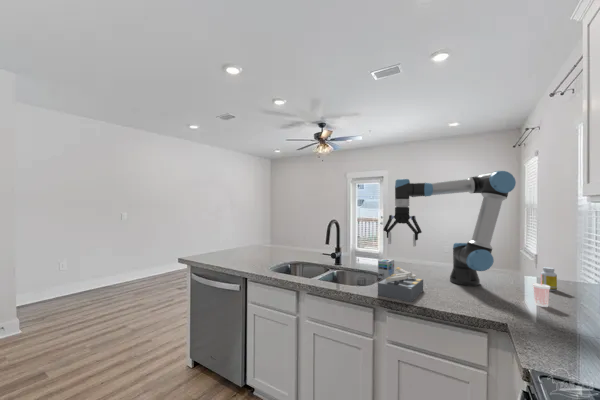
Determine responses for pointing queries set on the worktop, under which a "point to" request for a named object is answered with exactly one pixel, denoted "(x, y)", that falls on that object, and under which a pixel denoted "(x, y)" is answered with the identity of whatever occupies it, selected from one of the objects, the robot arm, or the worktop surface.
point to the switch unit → (401, 288)
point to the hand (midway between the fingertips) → (401, 244)
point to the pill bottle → (549, 278)
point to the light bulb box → (385, 268)
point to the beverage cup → (541, 294)
